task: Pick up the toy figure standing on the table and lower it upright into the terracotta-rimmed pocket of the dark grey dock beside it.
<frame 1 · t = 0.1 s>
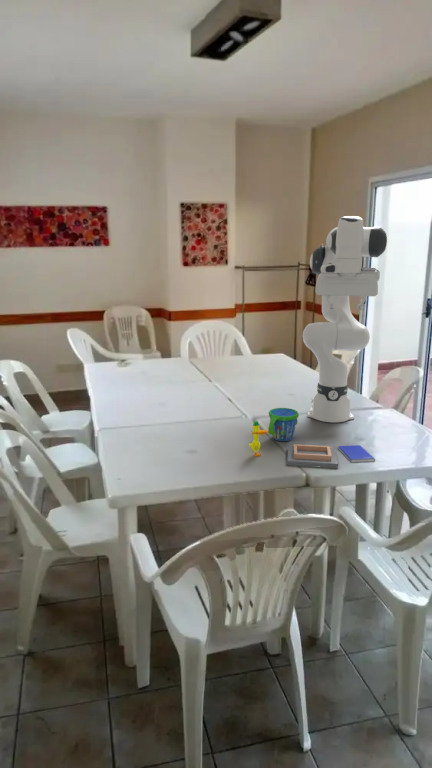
hand: (345, 309, 189), 48 cm above the table, tool pointing down, fingers open, 8 cm apart
snack cup: (282, 439, 206), on the table
dock: (311, 458, 187), on the table
toy figure: (257, 455, 190), on the table
hard drive: (355, 456, 192), on the table
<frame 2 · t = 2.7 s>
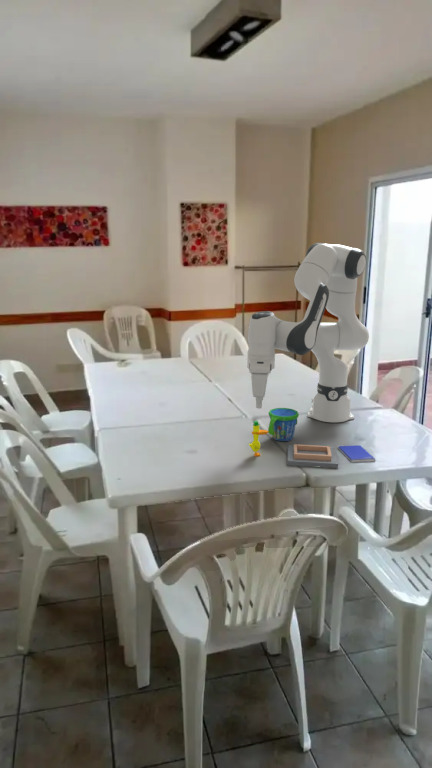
hand: (259, 403, 185), 18 cm above the table, tool pointing down, fingers open, 8 cm apart
nothing on the table moved.
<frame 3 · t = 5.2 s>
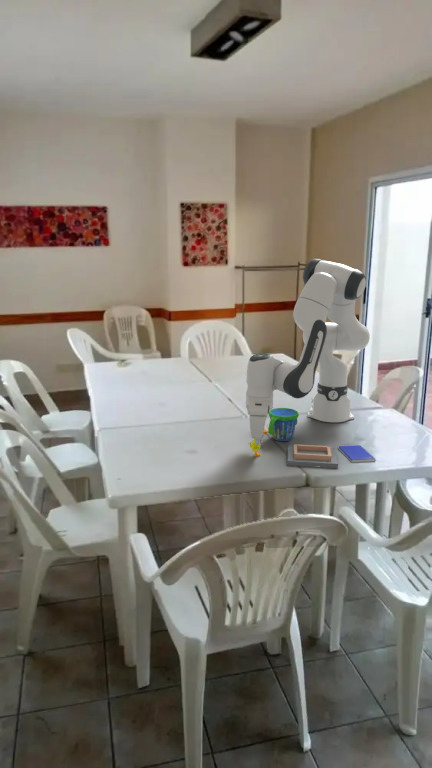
hand: (258, 442, 189), 5 cm above the table, tool pointing down, fingers closed on toy figure, 2 cm apart
toy figure: (257, 455, 190), on the table, touching gripper
everything else where it was.
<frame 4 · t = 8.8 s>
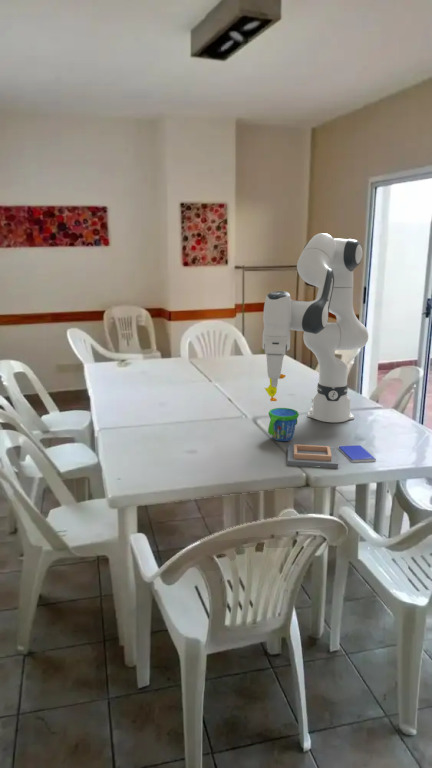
hand: (274, 385, 183), 25 cm above the table, tool pointing down, fingers closed on toy figure
toy figure: (273, 401, 185), point 19 cm above the table, touching gripper
everything else where it was.
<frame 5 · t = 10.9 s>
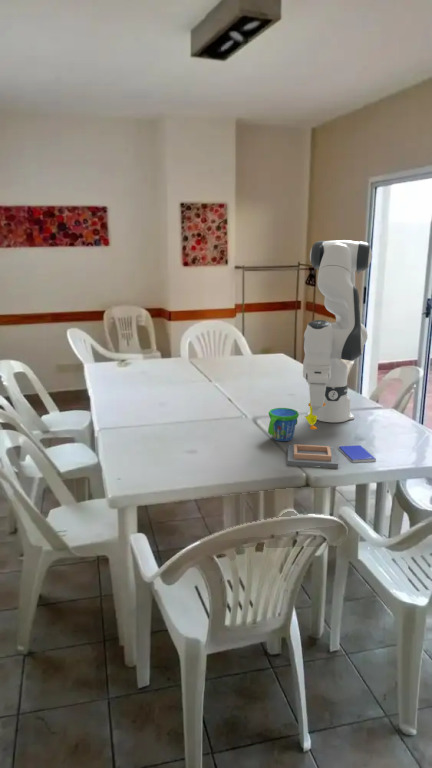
hand: (314, 413, 183), 16 cm above the table, tool pointing down, fingers closed on toy figure
toy figure: (313, 429, 185), point 10 cm above the table, touching gripper
everything else where it was.
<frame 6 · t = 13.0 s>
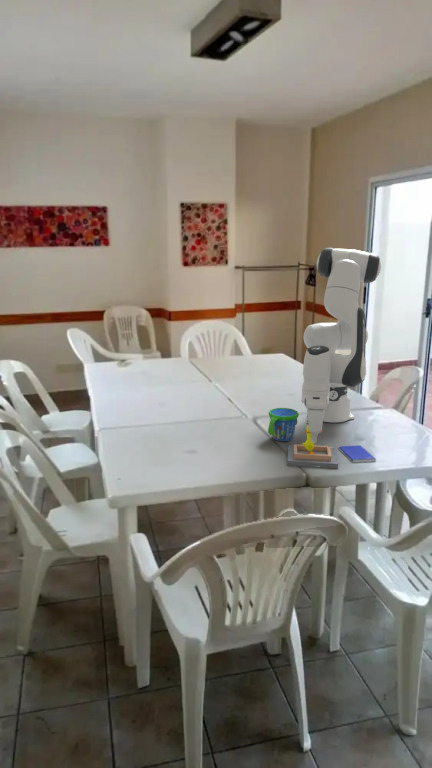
hand: (313, 436, 186), 8 cm above the table, tool pointing down, fingers open, 7 cm apart
toy figure: (311, 454, 187), point 1 cm above the table, touching dock
everything else where it was.
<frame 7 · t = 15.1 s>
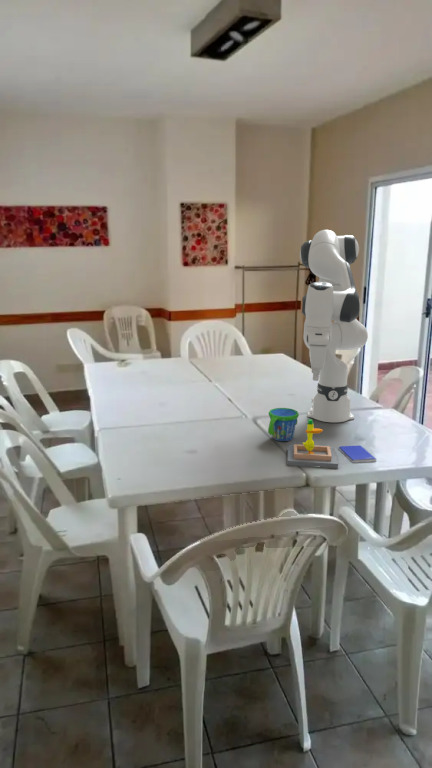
hand: (314, 376, 183), 28 cm above the table, tool pointing down, fingers open, 8 cm apart
nothing on the table moved.
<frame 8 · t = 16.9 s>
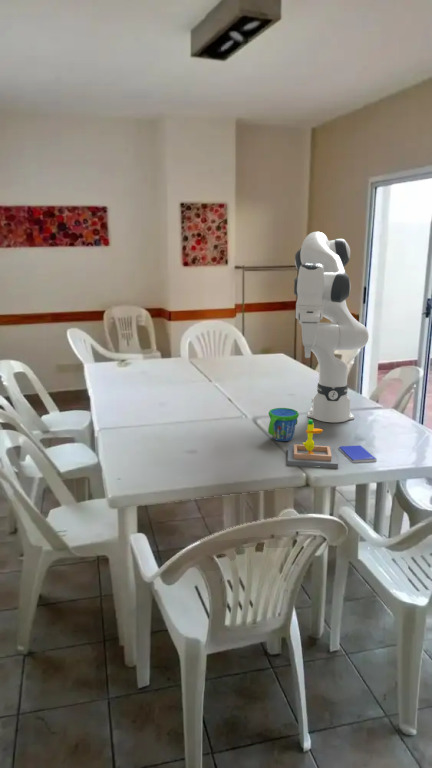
hand: (307, 354, 189), 33 cm above the table, tool pointing down, fingers open, 8 cm apart
nothing on the table moved.
at the end: toy figure 0.3 cm off-centre on the dock, point 1.3 cm above the dock's base; toy figure tilted 0°; the gripper is holding nothing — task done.
